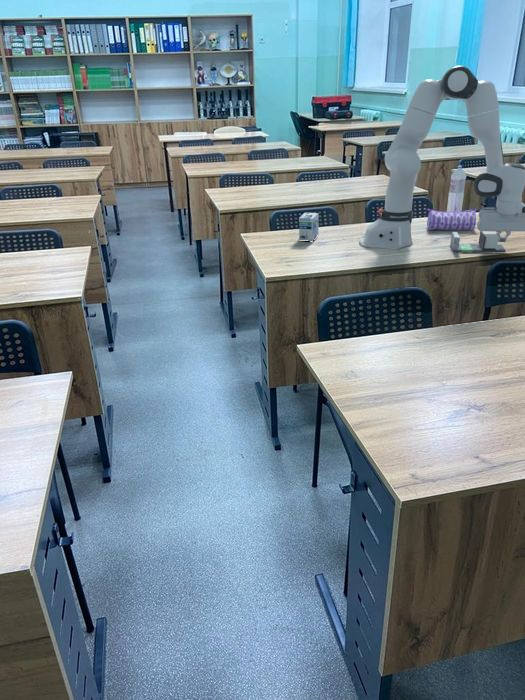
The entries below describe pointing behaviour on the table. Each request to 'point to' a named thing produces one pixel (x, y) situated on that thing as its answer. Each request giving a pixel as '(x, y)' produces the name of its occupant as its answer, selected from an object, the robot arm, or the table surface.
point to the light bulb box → (308, 226)
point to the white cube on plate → (488, 239)
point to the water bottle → (456, 190)
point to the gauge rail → (470, 246)
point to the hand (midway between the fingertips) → (501, 241)
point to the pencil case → (451, 220)
